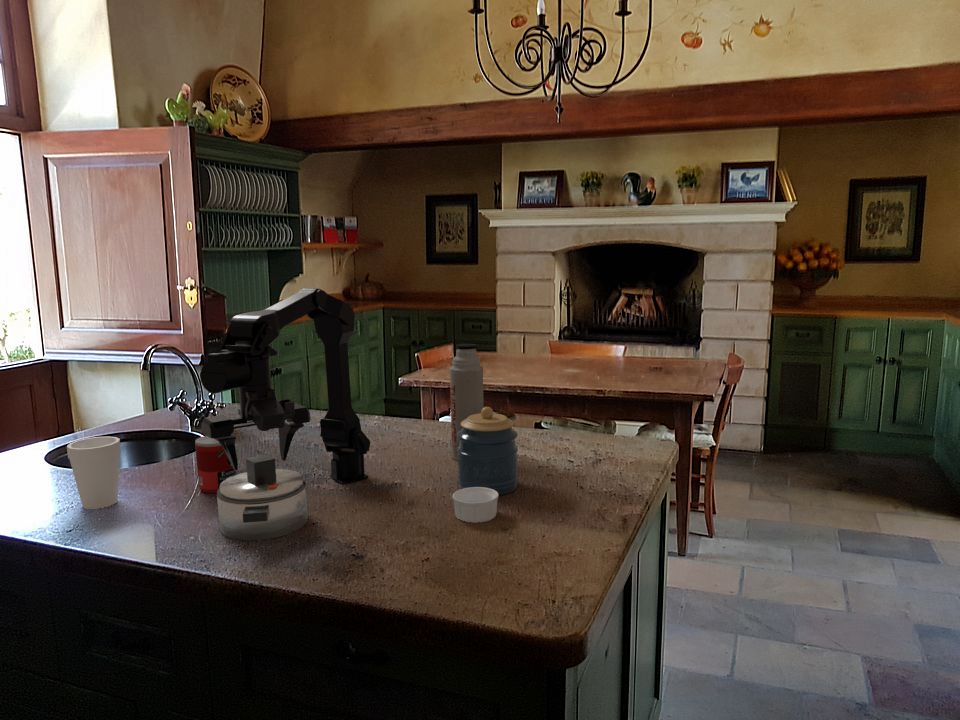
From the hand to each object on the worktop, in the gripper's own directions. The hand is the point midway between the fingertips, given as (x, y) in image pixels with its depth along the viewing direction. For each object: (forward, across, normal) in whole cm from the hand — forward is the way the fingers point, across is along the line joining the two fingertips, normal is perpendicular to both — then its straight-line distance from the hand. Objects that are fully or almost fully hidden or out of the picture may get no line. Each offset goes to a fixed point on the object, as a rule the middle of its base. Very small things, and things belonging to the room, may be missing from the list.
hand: (260, 464), depth 133 cm
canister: (+12, +45, -12) cm, 48 cm away
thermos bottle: (+12, +55, +8) cm, 57 cm away
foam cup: (+12, -22, +32) cm, 41 cm away
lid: (+4, 0, 0) cm, 5 cm away
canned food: (+12, 0, +26) cm, 29 cm away
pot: (+11, 0, 0) cm, 11 cm away
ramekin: (+12, +33, -23) cm, 42 cm away
